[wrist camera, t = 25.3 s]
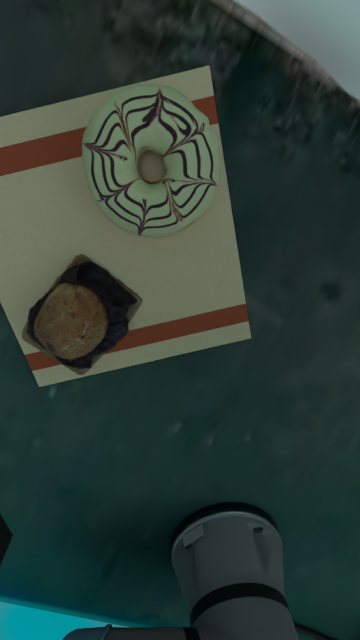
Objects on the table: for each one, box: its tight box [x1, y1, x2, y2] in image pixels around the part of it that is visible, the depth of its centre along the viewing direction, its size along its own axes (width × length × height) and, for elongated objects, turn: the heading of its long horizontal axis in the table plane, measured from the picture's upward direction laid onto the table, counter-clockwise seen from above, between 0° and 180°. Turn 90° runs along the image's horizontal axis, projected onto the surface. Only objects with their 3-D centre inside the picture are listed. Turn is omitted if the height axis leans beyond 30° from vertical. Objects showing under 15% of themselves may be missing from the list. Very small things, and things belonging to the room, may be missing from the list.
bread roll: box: [21, 254, 142, 375], centre depth 31 cm, size 11×8×4 cm
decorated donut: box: [82, 84, 220, 239], centre depth 26 cm, size 10×11×4 cm
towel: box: [0, 66, 251, 387], centre depth 31 cm, size 24×23×1 cm
